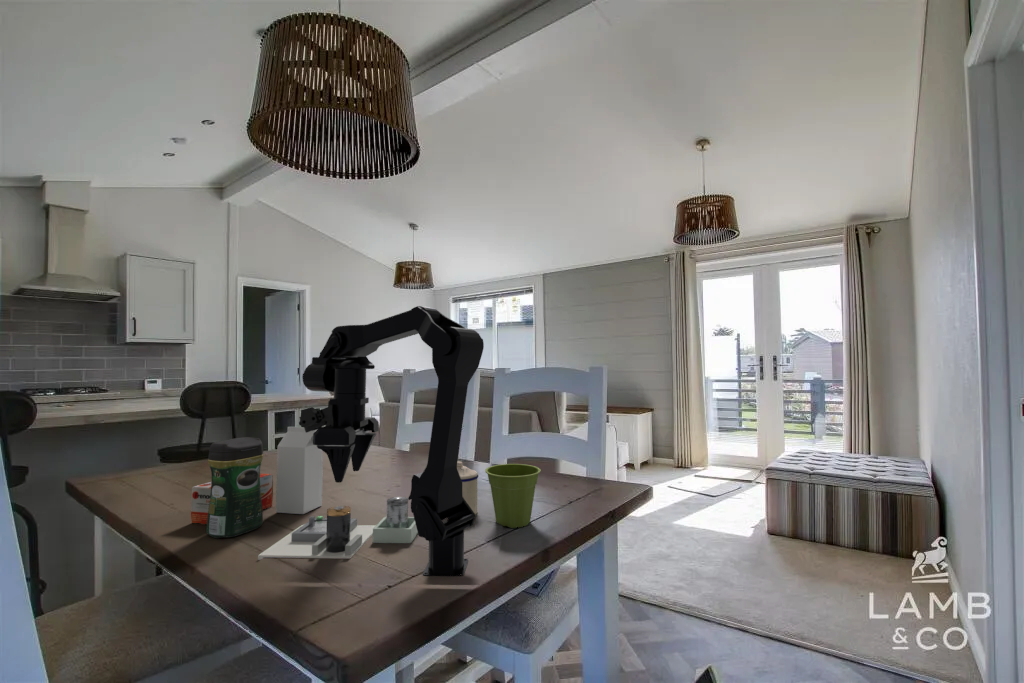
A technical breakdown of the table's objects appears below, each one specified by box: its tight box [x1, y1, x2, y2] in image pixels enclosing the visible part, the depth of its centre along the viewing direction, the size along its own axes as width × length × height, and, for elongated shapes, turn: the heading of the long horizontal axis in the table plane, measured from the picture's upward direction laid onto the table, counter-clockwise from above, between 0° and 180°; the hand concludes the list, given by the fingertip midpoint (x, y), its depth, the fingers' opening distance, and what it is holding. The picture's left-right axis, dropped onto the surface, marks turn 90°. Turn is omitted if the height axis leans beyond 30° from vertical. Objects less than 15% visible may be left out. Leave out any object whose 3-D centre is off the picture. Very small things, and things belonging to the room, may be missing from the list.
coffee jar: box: [206, 436, 264, 539], centre depth 97 cm, size 10×8×19 cm
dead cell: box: [386, 496, 409, 528], centre depth 93 cm, size 4×4×7 cm
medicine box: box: [190, 472, 274, 525], centre depth 108 cm, size 15×8×8 cm, turn 166°
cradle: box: [302, 515, 327, 532], centre depth 93 cm, size 6×6×3 cm
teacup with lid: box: [457, 460, 479, 515], centre depth 109 cm, size 12×9×12 cm
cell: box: [326, 505, 352, 553], centre depth 86 cm, size 4×4×7 cm
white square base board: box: [257, 515, 377, 561], centre depth 90 cm, size 16×16×3 cm
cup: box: [372, 516, 418, 544], centre depth 93 cm, size 7×7×3 cm
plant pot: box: [484, 463, 541, 529], centre depth 102 cm, size 12×12×11 cm
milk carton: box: [275, 426, 324, 515], centre depth 112 cm, size 7×7×19 cm
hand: (347, 476), depth 90 cm, fingers open, 9 cm apart
